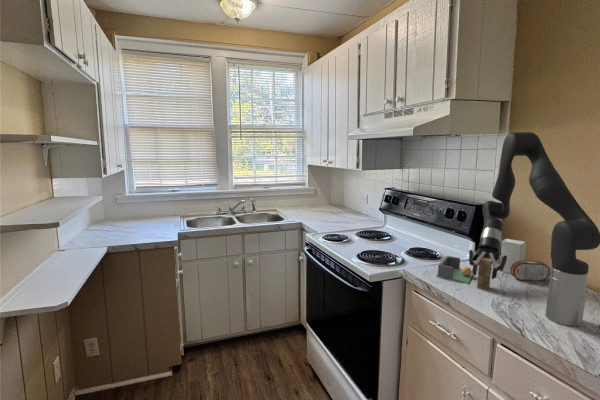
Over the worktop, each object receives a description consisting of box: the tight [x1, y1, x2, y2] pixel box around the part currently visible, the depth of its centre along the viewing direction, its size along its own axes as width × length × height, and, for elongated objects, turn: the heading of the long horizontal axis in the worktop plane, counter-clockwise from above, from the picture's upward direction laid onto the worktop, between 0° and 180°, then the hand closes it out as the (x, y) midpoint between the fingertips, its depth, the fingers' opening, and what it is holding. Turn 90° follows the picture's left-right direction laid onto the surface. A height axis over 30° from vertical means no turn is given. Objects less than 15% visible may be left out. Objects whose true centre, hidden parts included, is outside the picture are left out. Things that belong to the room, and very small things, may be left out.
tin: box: [510, 260, 551, 282], centre depth 143 cm, size 15×3×8 cm, turn 84°
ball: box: [460, 266, 472, 276], centre depth 147 cm, size 4×4×4 cm
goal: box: [435, 255, 475, 284], centre depth 149 cm, size 13×16×5 cm
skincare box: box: [500, 238, 527, 275], centre depth 151 cm, size 8×6×15 cm
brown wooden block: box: [476, 257, 493, 291], centre depth 134 cm, size 4×4×12 cm
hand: (483, 276), depth 133 cm, fingers open, 5 cm apart
